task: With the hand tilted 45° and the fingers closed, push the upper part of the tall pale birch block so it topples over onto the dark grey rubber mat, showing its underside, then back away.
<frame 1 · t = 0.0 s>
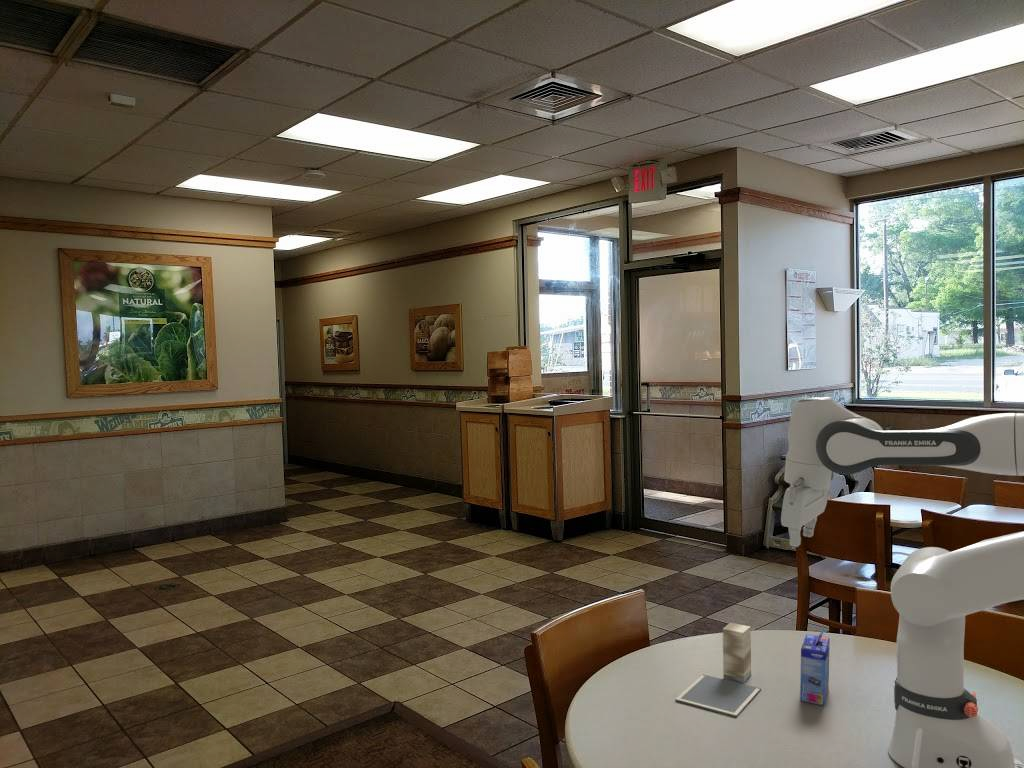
hand: (801, 540, 154), 39 cm above the table, tool pointing down, fingers open, 8 cm apart
ink cartridge box: (815, 696, 169), on the table
birch block: (737, 676, 180), on the table
rubber mat: (718, 695, 170), on the table
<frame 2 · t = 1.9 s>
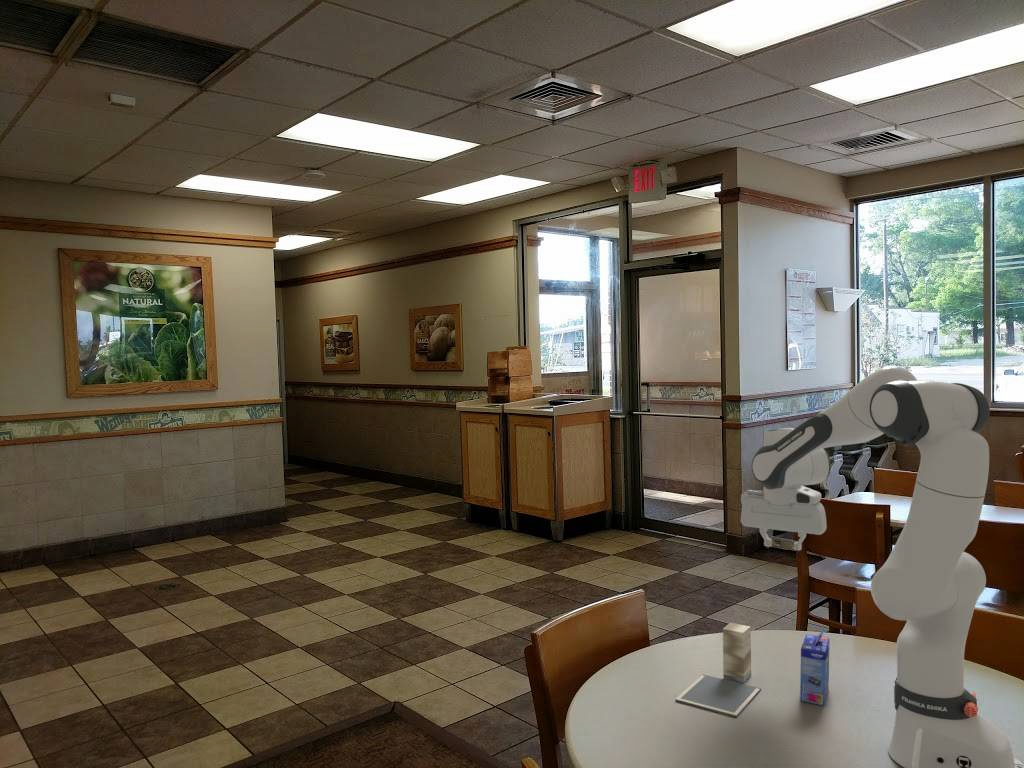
hand: (782, 547, 186), 29 cm above the table, tool pointing down, fingers open, 6 cm apart
nothing on the table moved.
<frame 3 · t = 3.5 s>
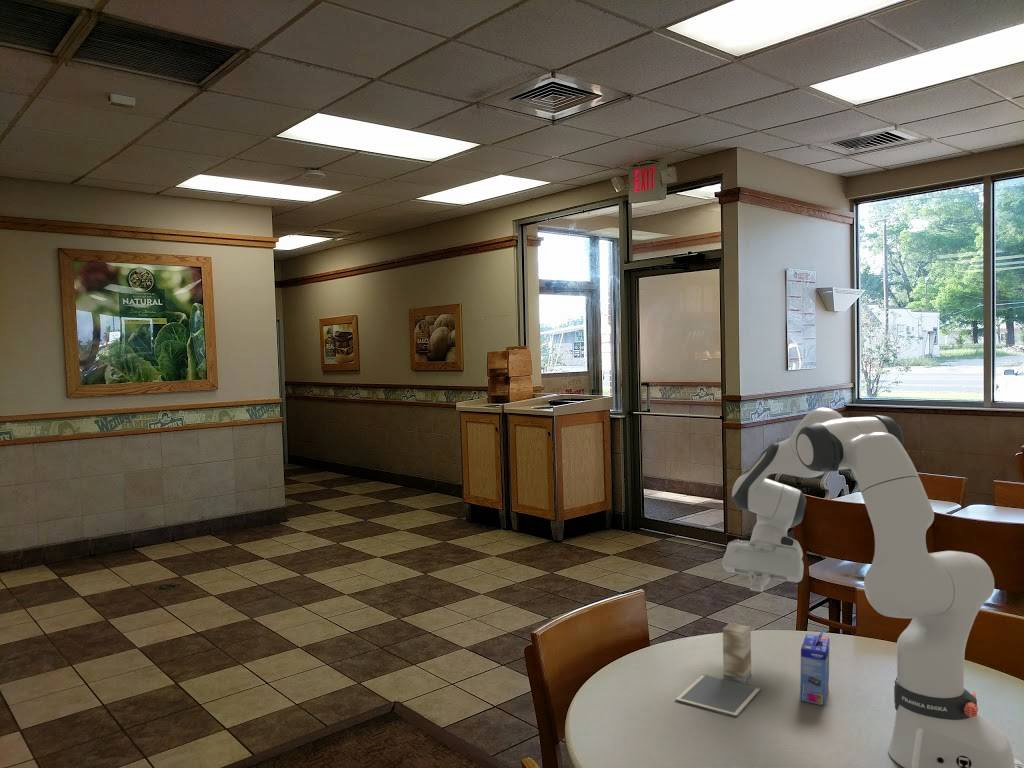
hand: (755, 590, 191), 17 cm above the table, tool tilted 45°, fingers closed
nothing on the table moved.
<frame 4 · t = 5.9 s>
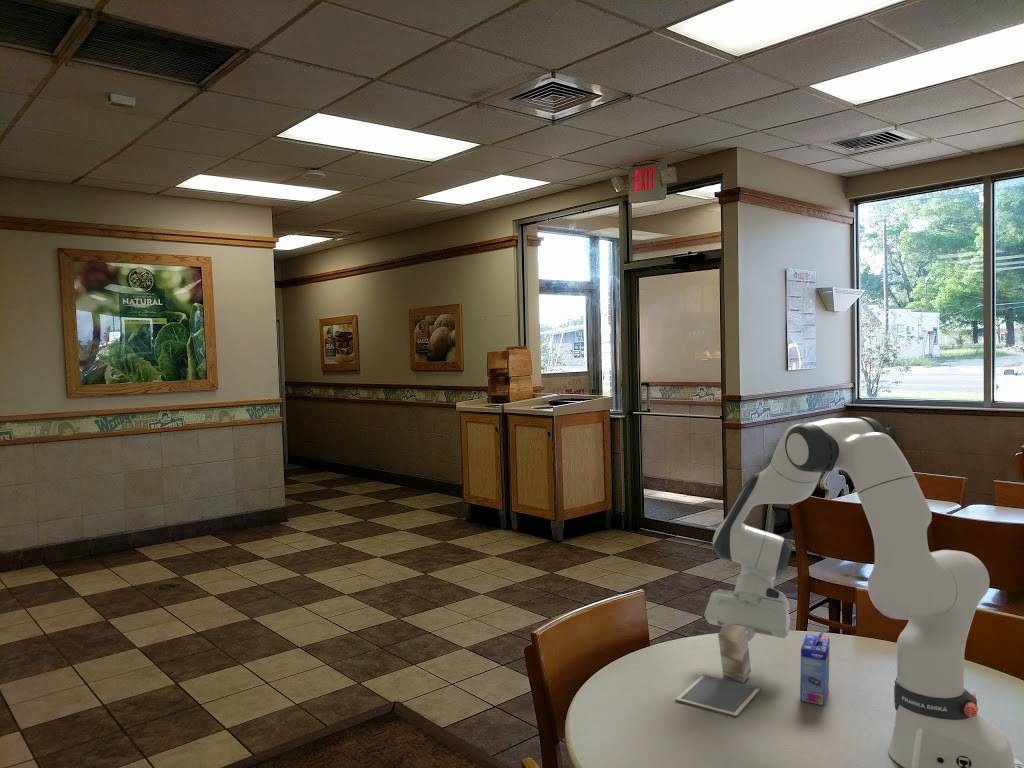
hand: (739, 645, 181), 7 cm above the table, tool tilted 45°, fingers closed
birch block: (737, 674, 180), point 1 cm above the table, tilted 14°
everything else where it was.
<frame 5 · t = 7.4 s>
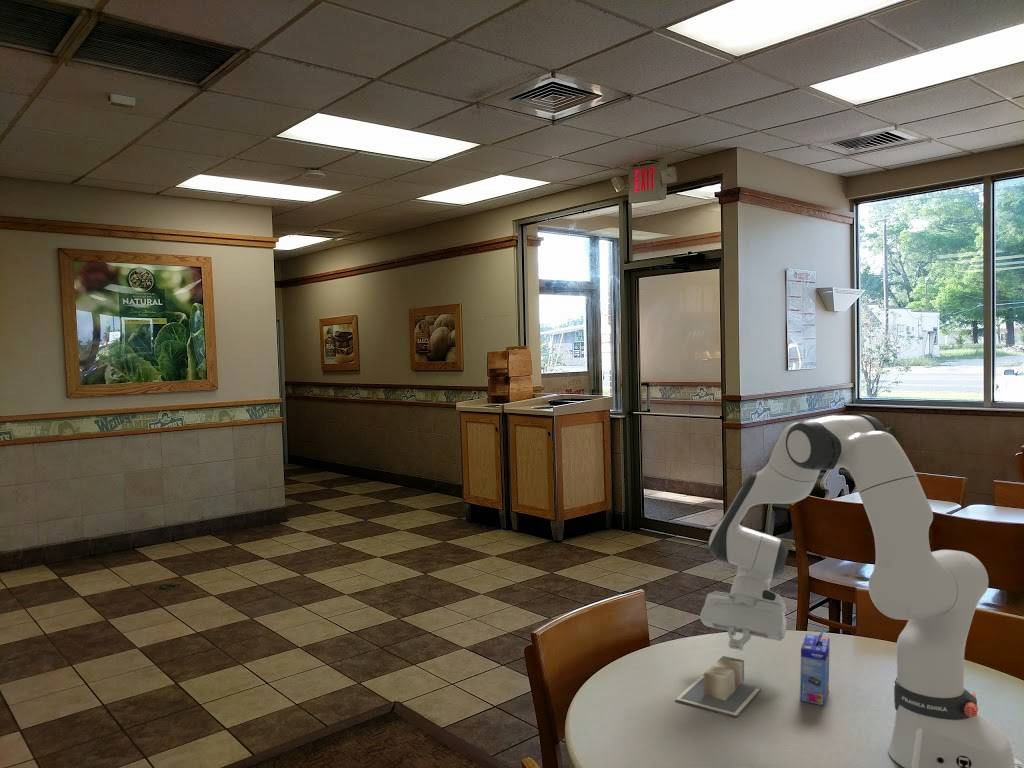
hand: (735, 648, 179), 7 cm above the table, tool tilted 45°, fingers closed
birch block: (733, 668, 178), point 3 cm above the table, tilted 90°, touching rubber mat
everything else where it was.
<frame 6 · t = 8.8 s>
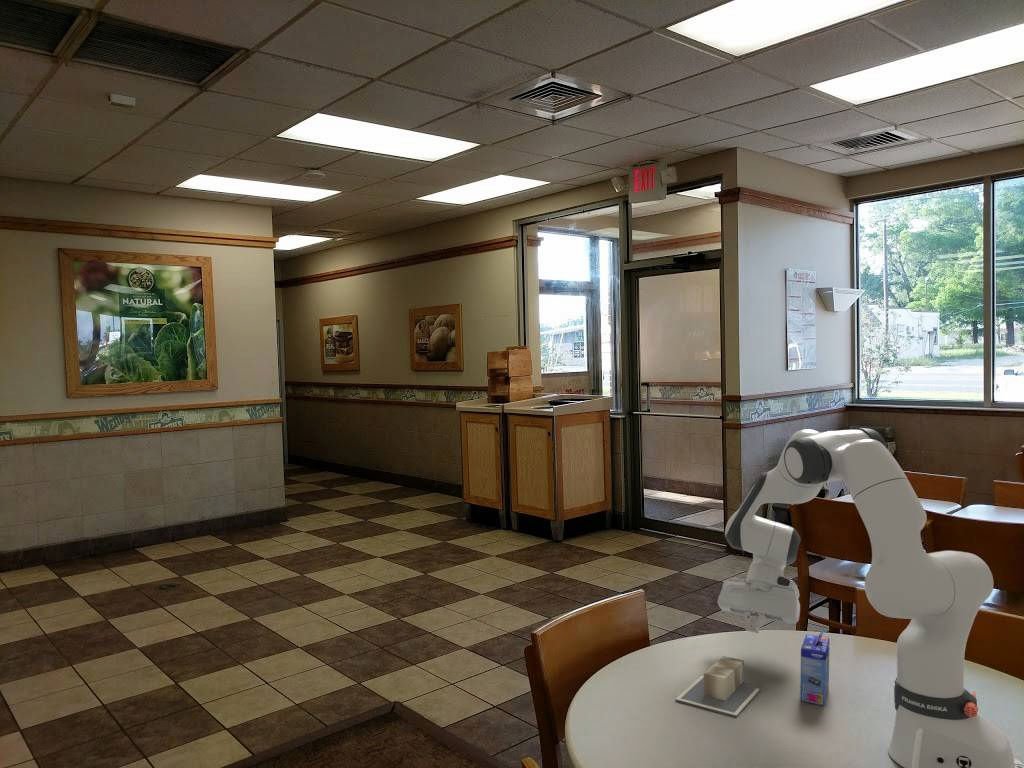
hand: (751, 631, 189), 8 cm above the table, tool tilted 45°, fingers closed
nothing on the table moved.
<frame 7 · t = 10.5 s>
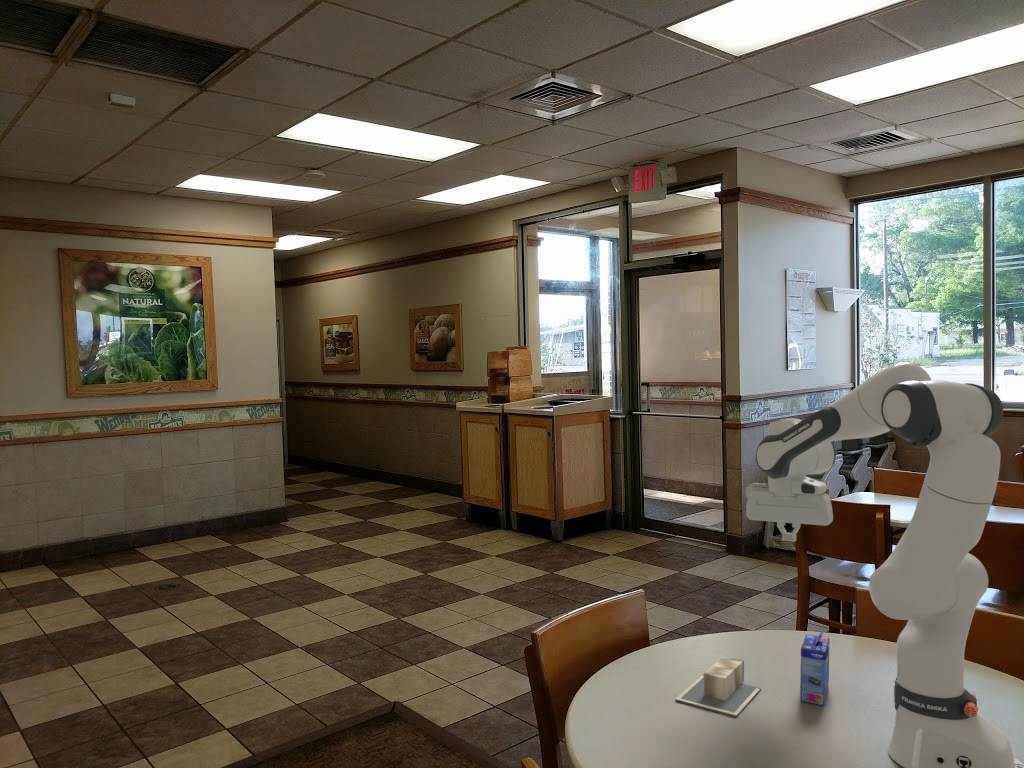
hand: (789, 540, 184), 32 cm above the table, tool pointing down, fingers closed
nothing on the table moved.
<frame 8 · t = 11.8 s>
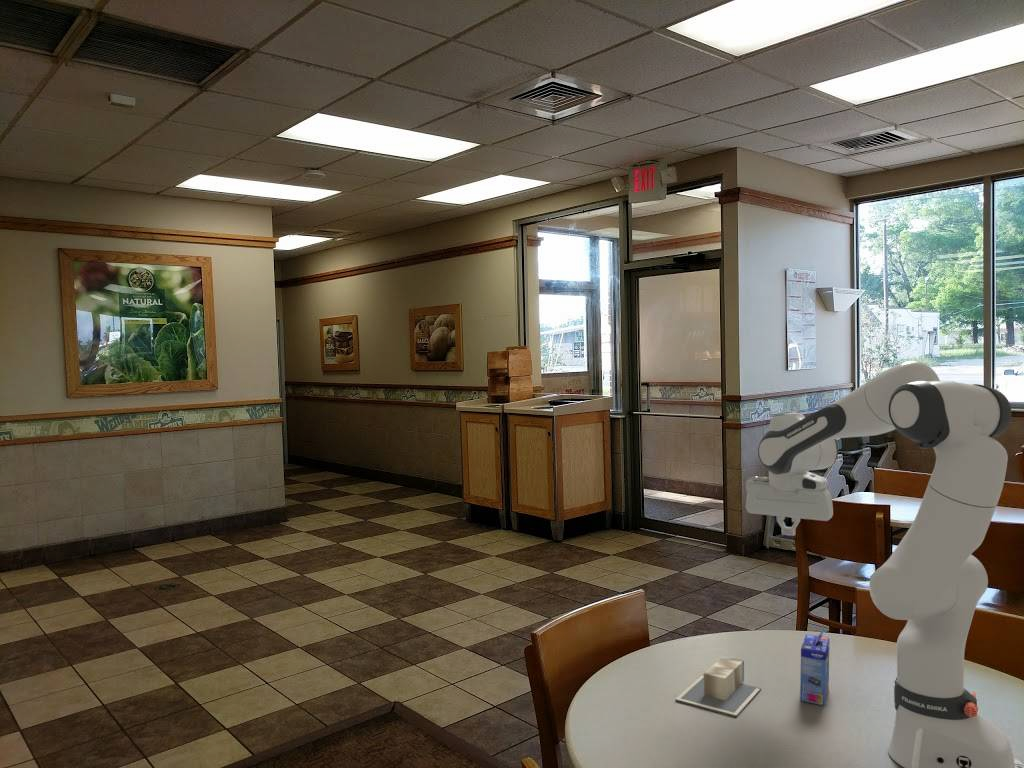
hand: (788, 534, 183), 33 cm above the table, tool pointing down, fingers closed
nothing on the table moved.
at the end: birch block tilted 90°; birch block inside the target area (9.1 cm from its centre), point 2.9 cm above the table; the gripper is holding nothing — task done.
